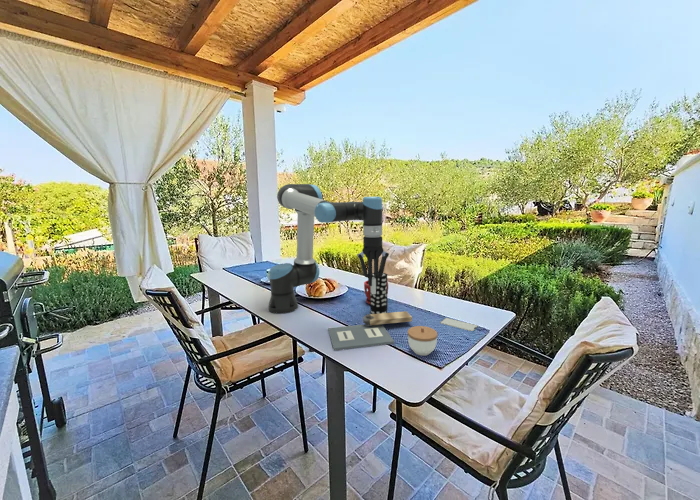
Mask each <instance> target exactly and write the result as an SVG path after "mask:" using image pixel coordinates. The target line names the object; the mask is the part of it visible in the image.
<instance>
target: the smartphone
mask: <svg viewBox="0 0 700 500" xmlns="http://www.w3.org/2000/svg"><path fill="white" fill-rule="evenodd" d="M439 323H440V324H441V325H445V326H449V327H453V328H456V327H457V329H460V330H463V329H464V331H467V330H468V332H471V331H474V330H475V329H476V328H477V327H478V328H479V325H478V324H474V323H470V322H466V321H461V320H458V319H457V320H456V319H453V318H449V317H445V318H444V319H442V320H441V321H440V322H439ZM478 328H477V329H478ZM477 329H476V330H477ZM476 330H475V331H476ZM475 331H474V332H475Z"/></svg>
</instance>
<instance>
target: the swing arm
mask: <svg viewBox="0 0 700 500" xmlns="http://www.w3.org/2000/svg"><path fill="white" fill-rule="evenodd" d="M406 322H407V323H409V322H410V323H411V322H413V316H412V315H411V314H410V313H409V312H408V311H407V310H405V311H394V312H387V313H380V314H371V313H368V314H366V315H364V316H363V317H362V323H364V324H370V325H377V324H382V325H386V324H397V323H406Z"/></svg>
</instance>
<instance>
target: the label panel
mask: <svg viewBox="0 0 700 500" xmlns="http://www.w3.org/2000/svg"><path fill="white" fill-rule="evenodd" d="M328 334H329V338H330V341H331V344H332V348H333V351H334V350H336V351H343V349H344V350H351V349H361V348H370V347H377V346H385V345H392V344H395V340H394V339H393V338H392V336H391V334H390V333H389V332H388V331H387V329H386V328H385V326H384V324H377V325H370V324H365V323H364V324H356V325H348V326H347V325H346V326H338V327H328Z"/></svg>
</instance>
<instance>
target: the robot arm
mask: <svg viewBox="0 0 700 500" xmlns="http://www.w3.org/2000/svg"><path fill="white" fill-rule="evenodd" d="M276 195H277V196H276V198H277V201H278V204H279V206H281V207H283V208H286V209H289V210H294V211H295V213H296V214H297V218H296V219H297V223H296V225H297V226H296V229H297V230H296V232H297V233H296V258H294V260H293V264H292V263H290V262H285V263H279V264H275V265H274V266H272V267H271V268H270V270H269V283H270V284H269V286H270V298H269V303H268V311H269V312H270V313H272V314H287V313H288V314H289V313H292V312H295V310H298V309H299V307H298V306H299V303H298V300H297V297H296V295H295V291H294V290H295V289H294V288H295V287H300V286H305V285H310V284H312V283H313V284H314V283H315V282H317V280H318V279H319V278H320V277H319V276H320V268H319V267H320V266H319V264H318V263H317V262H316V260H315V258H314V232H315V231H314V230H315V229H314V227H315V219H316V220H317V222H319V223H325V224H327V223H328V224H329V223H336V222H347V221H348V222H349V221H362V222H363V224H362V229H363V230H362V231H363V241H362V242H363V248H362V250H361V252H358V253H357V254H356V257H357V259H358V260H359V263H360V266H361V269H362V274H363V276H364V277H365V278H367V279H368V280H367V281H368V285H369V286H371V293H372V294H376V285H378V278H379V277H380V276H382V275H383V273H385V272H384V271H385V266H386V263H387V259H388V257H389V255H390V253H389V252H387V251H385V250H384V247H383V237H382V236H383V210H384V209H383V208H384V207H383V199H382V197H381V196H364V197H362V201H347V202H346V201H345V202H343V201H342V202H341V201H340V202H339V201H338V202H337V201H335V202H332V201H328V200H325V199H323V194H322V190H321V189H320V188H319V187H318V186H317V185H316V184H312V183H311V184H310V183H308V184H307V183H300V184H299V183H296V184H295V183H289V184H285V185H283V186H282V187H280V189H278V191H277V194H276ZM364 257H366V259H367V268H366V263H365V259H364ZM380 258H381V260H380ZM379 261H380V264H379ZM372 273H374V277H372Z"/></svg>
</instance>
